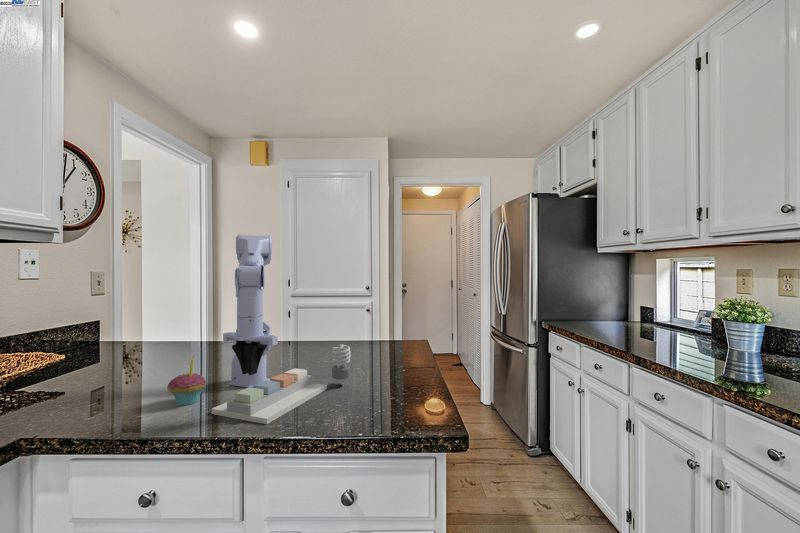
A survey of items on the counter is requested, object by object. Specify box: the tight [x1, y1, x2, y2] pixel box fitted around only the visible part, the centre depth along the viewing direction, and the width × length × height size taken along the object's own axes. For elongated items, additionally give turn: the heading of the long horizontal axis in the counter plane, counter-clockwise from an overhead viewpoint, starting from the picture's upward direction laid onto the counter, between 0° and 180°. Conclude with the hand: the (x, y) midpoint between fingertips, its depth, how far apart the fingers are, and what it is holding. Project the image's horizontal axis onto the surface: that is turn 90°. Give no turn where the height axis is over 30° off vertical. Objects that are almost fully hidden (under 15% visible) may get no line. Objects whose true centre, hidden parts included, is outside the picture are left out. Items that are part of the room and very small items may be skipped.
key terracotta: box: [269, 373, 294, 388], centre depth 98 cm, size 4×4×2 cm
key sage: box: [234, 387, 264, 404], centre depth 87 cm, size 4×4×2 cm
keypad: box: [211, 374, 328, 425], centre depth 95 cm, size 16×25×3 cm, turn 160°
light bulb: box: [331, 343, 352, 386], centre depth 108 cm, size 6×6×12 cm
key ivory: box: [284, 368, 308, 381], centre depth 103 cm, size 4×4×2 cm
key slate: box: [254, 380, 280, 395], centre depth 92 cm, size 4×4×2 cm
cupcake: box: [166, 355, 207, 406], centre depth 93 cm, size 9×8×12 cm
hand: (249, 373), depth 87 cm, fingers closed
